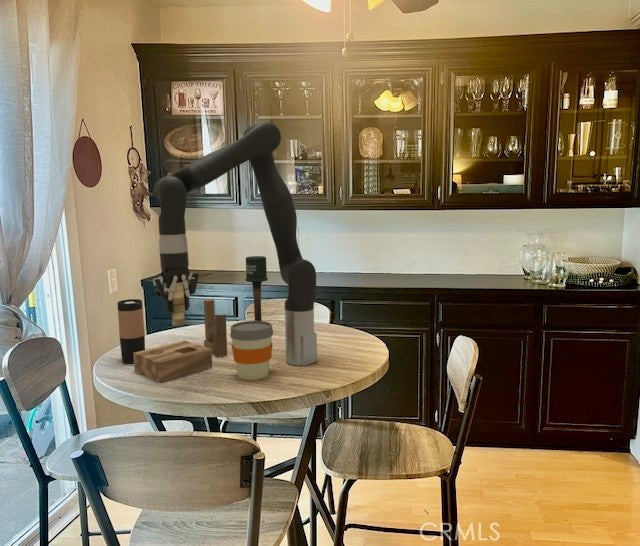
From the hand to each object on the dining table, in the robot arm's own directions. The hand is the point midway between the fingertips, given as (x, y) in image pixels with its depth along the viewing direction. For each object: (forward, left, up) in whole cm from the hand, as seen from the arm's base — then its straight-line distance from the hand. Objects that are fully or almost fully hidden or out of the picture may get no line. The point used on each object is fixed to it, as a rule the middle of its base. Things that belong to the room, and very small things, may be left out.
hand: (177, 311), depth 144 cm
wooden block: (+17, -24, -21) cm, 36 cm away
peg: (0, 0, -4) cm, 4 cm away
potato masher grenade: (+25, -50, -21) cm, 60 cm away
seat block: (+13, -5, -21) cm, 25 cm away
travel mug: (+30, -1, -21) cm, 37 cm away
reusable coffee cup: (-10, -18, -21) cm, 30 cm away
